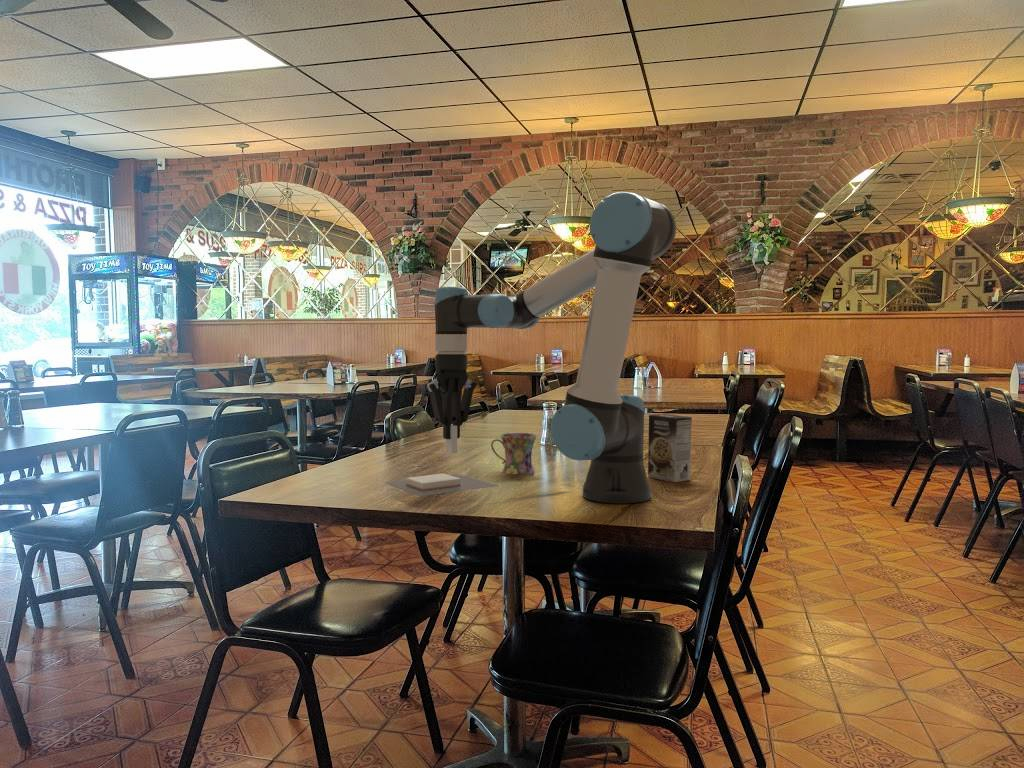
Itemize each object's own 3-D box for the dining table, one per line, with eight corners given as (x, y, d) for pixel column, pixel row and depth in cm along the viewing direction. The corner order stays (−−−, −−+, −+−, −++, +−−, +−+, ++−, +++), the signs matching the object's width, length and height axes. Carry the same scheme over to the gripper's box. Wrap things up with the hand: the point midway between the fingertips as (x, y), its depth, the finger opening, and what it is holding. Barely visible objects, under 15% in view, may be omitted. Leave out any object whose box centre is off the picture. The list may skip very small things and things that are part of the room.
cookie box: (646, 477, 188) (647, 414, 187) (663, 474, 192) (664, 413, 191) (674, 482, 181) (675, 417, 180) (691, 479, 184) (692, 416, 183)
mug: (540, 473, 193) (540, 433, 192) (531, 480, 184) (531, 438, 183) (496, 471, 196) (496, 431, 195) (485, 477, 187) (485, 436, 186)
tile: (460, 478, 171) (422, 483, 165) (460, 485, 171) (422, 490, 165) (443, 473, 177) (406, 477, 171) (443, 479, 177) (406, 484, 171)
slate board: (497, 490, 171) (497, 485, 171) (421, 501, 159) (421, 496, 159) (457, 478, 186) (457, 473, 185) (385, 487, 174) (385, 482, 174)
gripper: (466, 352, 179) (466, 448, 180) (419, 353, 171) (419, 453, 173) (483, 353, 173) (483, 452, 174) (435, 353, 165) (435, 457, 167)
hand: (451, 452), depth 174 cm, fingers closed
